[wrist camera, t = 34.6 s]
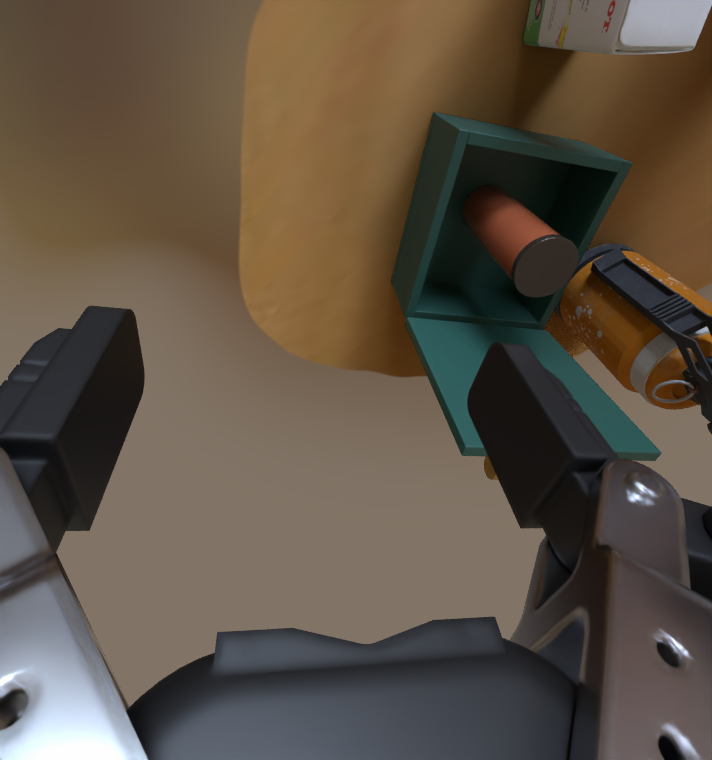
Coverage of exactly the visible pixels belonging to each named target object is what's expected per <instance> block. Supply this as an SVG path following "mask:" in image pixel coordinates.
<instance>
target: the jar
mask: <svg viewBox="0 0 712 760" xmlns="http://www.w3.org/2000/svg"><path fill="white" fill-rule="evenodd" d="M462 219H463V222H464V224H465V226H466V227H467V228H468V229H469V231H470V232H471V233H472V234H473V235H474V237H475V238H476V239H477V240H478V241H479V242H480V244H481V245H482V246H483V247H484V248H485V250H486V251H487V252H488V253H489V254H490V255H491V257H492V258H493V259H494V260H495V261H496V263H497V264H498V265H499V266H500V267H501V268H502V270H503V271H504V272H505V273H506V274H507V276H508V277H509V278H510V279H511V280H512V282H513V284H514V286H515V287H516V289H517V290H518V291H519V292H520V293H521V294H523V295H525V296H527V297H532V298H539V297H544V296H548V295H550V294H552V293H554V292H556V291H558V290H559V289H561V288H562V287H563V286H564V285H565V284H566V283H567V282H568V281H569V280H570V279H571V277H572V276H573V274H574V272H575V270H576V268H577V265H578V258H579V257H578V250H577V248H576V246H575V245H574V243H573V242H571V241H570V240H569V239H568V238H566V237H564V236H562V235H560V234H559V233H557V232H556V231H555V230H554V229H552V228H551V227H550V226H549V225H547V224H546V223H545V222H544V221H542V220H541V219H540V218H539V217H537V216H536V215H535V214H534V213H532V212H531V211H530V210H529V209H527V208H526V207H525V206H524V205H522V204H521V203H520V202H519V201H518V200H516V199H515V198H514V197H513V196H511V195H510V194H509V193H508V192H506V191H505V190H504V189H503V188H501V187H500V186H497V185H492V184H490V185H484V186H481V187H479V188H477V189H476V190H474V191H473V192H472V193H471V194H470V195H469V196H468V198H467V199H466V201H465V203H464V206H463V210H462Z"/></svg>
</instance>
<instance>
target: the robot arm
mask: <svg viewBox="0 0 712 760" xmlns="http://www.w3.org/2000/svg"><path fill="white" fill-rule="evenodd" d="M143 387H144V366H143V359H142V353H141V347H140V341H139V335H138V329H137V324H136V318H135V314H134V312H133V311H132V310H131V309H122V308H110V307H100V306H89V307H87V308H86V309H85V311H84V312H83V314H82V315H81V317H80V318H79V319H78V321H77V322H76V324H75V325H74V327H73V328H72V329H63V328H58V329H56V330H55V331H53V332H51V333H50V334H48V335H46V336H45V337H43V338H41V339H40V340H38V341H36V342H35V343H34V344H33V345H32V347H31V348H30V349H29V350H28V352H27V353H26V354H25V355H24V357H23V358H22V359H21V360H20V365H17V366H16V367H15V368H14V369H13V371H12V372H11V373H10V374H9V376H8V380H5V381H4V382H3V383H2V385H1V386H0V760H712V507H710V506H707V505H704V504H700V503H697V502H693V501H690V500H686V499H683V498H680V497H679V495H678V493H677V491H676V490H675V489H674V488H673V486H671V484H670V483H668V481H667V480H665V479H664V478H663V477H662V476H661V475H659V474H658V473H657V472H655V471H653V470H652V469H650V468H649V467H647V466H645V465H643V464H640V463H638V462H635V461H632V460H628V459H619V457H618V456H617V455H616V453H615V452H614V451H613V449H612V448H611V447H610V445H609V444H608V443H607V441H606V440H605V439H604V437H603V436H602V435H601V433H600V432H599V431H598V429H597V428H596V427H595V425H594V424H593V423H592V421H591V420H590V419H589V417H588V416H587V415H586V413H583V412H582V410H583V409H582V408H581V407H580V405H579V404H578V403H577V401H576V400H573V396H572V394H571V393H570V392H569V390H568V389H567V388H566V386H565V385H564V384H563V382H562V381H561V380H560V379H558V378H557V377H556V376H555V375H553V374H552V373H551V372H550V371H548V370H547V369H546V368H545V367H543V366H542V364H541V363H540V362H539V360H538V359H537V358H536V356H535V355H534V353H533V352H532V351H531V349H530V348H529V347H528V346H526V345H521V344H510V343H498V342H496V343H493V344H492V345H491V346H490V347H489V349H488V351H487V353H486V355H485V357H484V359H483V361H482V364H481V366H480V368H479V370H478V372H477V375H476V377H475V379H474V381H473V383H472V386H471V388H470V390H469V393H468V399H467V407H468V412H469V415H470V418H471V420H472V422H473V424H474V427H475V429H476V431H477V433H478V435H479V438H480V440H481V442H482V444H483V446H484V449H485V451H486V453H487V455H488V457H489V460H490V462H491V464H492V466H493V468H494V471H495V473H496V475H497V477H498V480H499V482H500V484H501V486H502V488H503V490H504V493H505V495H506V497H507V499H508V502H509V504H510V506H511V508H512V510H513V513H514V515H515V517H516V519H517V521H518V524H519V526H520V528H543V529H544V531H545V533H546V537H545V538H544V539H543V540H542V542H541V543H540V546H539V549H538V553H537V558H536V561H535V566H534V570H533V574H532V578H531V582H530V586H529V590H528V594H527V598H526V602H525V606H524V610H523V614H522V617H521V620H520V622H519V624H518V627H517V628H516V630H515V632H514V633H513V635H512V637H511V639H510V641H509V640H507V639H504V638H502V637H501V633H500V630H499V628H498V625H497V622H496V619H495V617H480V618H463V619H445V620H432V621H430V622H427V623H425V624H422V625H420V626H417V627H414V628H412V629H409V630H407V631H404V632H402V633H399V634H397V635H394V636H391V637H389V638H386V639H384V640H381V641H378V642H376V643H373V644H360V643H355V642H351V641H347V640H342V639H338V638H334V637H329V636H325V635H320V634H316V633H312V632H308V631H303V630H298V629H295V628H285V629H267V630H250V631H232V632H218V633H217V639H216V647H215V653H213V654H210V655H207V656H205V657H202V658H199V659H197V660H195V661H193V662H191V663H189V664H187V665H185V666H183V667H181V668H179V669H178V670H176V671H175V672H173V673H171V674H170V675H168V676H167V677H165V678H164V679H162V680H161V681H159V682H158V683H157V684H155V685H154V686H153V687H152V688H151V689H149V690H148V691H147V692H146V693H145V694H143V695H142V696H141V697H140V698H139V699H138V700H136V701H135V702H134V704H133V705H131V706H130V707H129V705H128V703H127V701H126V699H125V697H124V694H123V692H122V690H121V688H120V686H119V684H118V682H117V680H116V678H115V675H114V673H113V671H112V669H111V667H110V665H109V663H108V661H107V659H106V657H105V655H104V653H103V651H102V649H101V647H100V644H99V642H98V641H97V638H96V636H95V634H94V632H93V630H92V627H91V625H90V623H89V621H88V619H87V617H86V615H85V613H84V611H83V608H82V606H81V604H80V602H79V600H78V598H77V596H76V593H75V591H74V589H73V587H72V585H71V583H70V581H69V579H68V576H67V574H66V572H65V570H64V568H63V566H62V564H61V562H60V560H59V558H58V555H57V554H56V551H57V549H58V547H59V545H60V542H61V540H62V537H63V535H64V533H65V531H89V530H90V528H91V525H92V523H93V520H94V518H95V515H96V513H97V510H98V508H99V505H100V502H101V500H102V497H103V495H104V492H105V489H106V487H107V484H108V482H109V479H110V477H111V474H112V471H113V469H114V466H115V464H116V461H117V459H118V456H119V454H120V451H121V449H122V446H123V443H124V441H125V438H126V436H127V433H128V431H129V428H130V425H131V423H132V420H133V418H134V415H135V413H136V410H137V408H138V405H139V402H140V400H141V397H142V394H143V389H144V388H143Z"/></svg>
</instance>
